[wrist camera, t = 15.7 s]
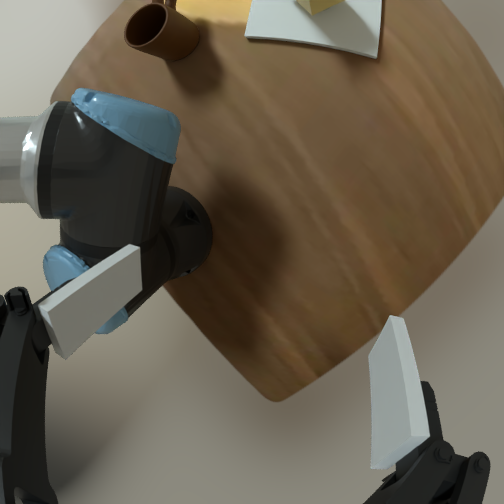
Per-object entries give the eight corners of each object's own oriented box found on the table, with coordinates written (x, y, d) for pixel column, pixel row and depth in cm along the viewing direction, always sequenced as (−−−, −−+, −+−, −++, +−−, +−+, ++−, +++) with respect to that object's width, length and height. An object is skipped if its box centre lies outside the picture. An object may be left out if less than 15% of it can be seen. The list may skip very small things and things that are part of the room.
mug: (169, 4, 29) (137, -15, 20) (210, -2, 27) (182, -27, 19) (155, 63, 34) (118, 52, 25) (196, 60, 32) (162, 44, 24)
